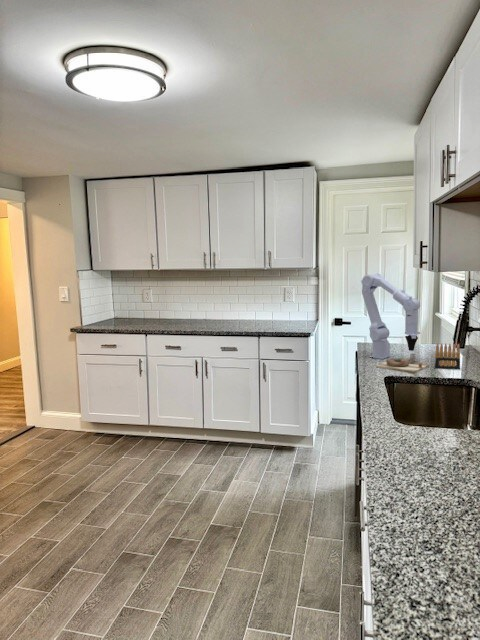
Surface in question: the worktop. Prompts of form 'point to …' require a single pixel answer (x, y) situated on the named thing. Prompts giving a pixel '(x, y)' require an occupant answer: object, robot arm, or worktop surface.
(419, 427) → the worktop surface
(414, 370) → the board
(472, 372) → the worktop surface
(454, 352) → the ammunition clip
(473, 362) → the worktop surface
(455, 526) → the worktop surface
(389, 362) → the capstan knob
